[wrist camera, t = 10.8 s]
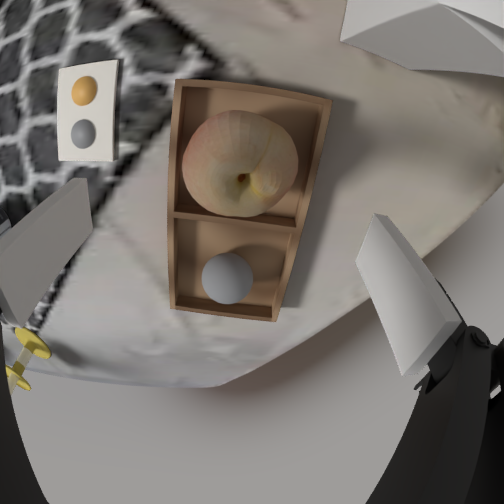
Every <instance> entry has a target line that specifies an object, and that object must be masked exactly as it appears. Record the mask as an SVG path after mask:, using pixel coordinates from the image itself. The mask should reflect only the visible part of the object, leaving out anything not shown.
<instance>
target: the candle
mask: <svg viewBox="0 0 504 504" xmlns="http://www.w3.org/2000/svg"><path fill="white" fill-rule="evenodd" d="M15 333H16V336H17V337H18V339H19V341H20V342H21V343H22V344H23V345H24V347H23V349H22V351H21V353H20V355H19V356H18V358H17V360H16V362H15V364H14V366H13V368H11V367H9V366H8V365H6V364H5V366H6V372H7V377H8V385H9V390H10V395H12V393H13V390H14V388H15V386H16V385H18V386H20V387H21V388H23V389H25V390H29V391H30V390H31V387H30V385H29V383H28V382H27V381H26V380H25V379H24V378H23V377H22V373H23V372H24V370H25V368H26V366H27V364H28V362H29V360H30V358H31V356H32V354H33V353H34V354H35V355H37V356H39V357H41V358H45V359H48V358H49V357H50V356H51V352H50V350H49V348H48V347H47V345H46V344H45V343H44V342H43V341H42V339H41V338H39V337H38V336H37V335H36V334H35V333H33V332H32V331H30V330H29V329H27V328H25V327H23V328H22V329H20V328H18V327H16V329H15Z"/></svg>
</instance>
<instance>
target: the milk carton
mask: <svg viewBox="0 0 504 504" xmlns="http://www.w3.org/2000/svg"><path fill="white" fill-rule="evenodd" d="M340 41H341V42H343V43H346V44H349V45H352V46H355V47H358V48H360V49H363V50H365V51H368V52H371V53H373V54H376V55H378V56H380V57H383V58H385V59H387V60H390V61H392V62H394V63H396V64H398V65H400V66H403V67H405V68H407V69H409V70H443V71H458V72H469V73H478V74H486V75H493V76H499V77H504V0H348V2H347V7H346V12H345V17H344V22H343V27H342V32H341V37H340Z"/></svg>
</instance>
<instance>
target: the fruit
mask: <svg viewBox="0 0 504 504" xmlns="http://www.w3.org/2000/svg"><path fill="white" fill-rule="evenodd" d="M182 171H183V178H184V181H185V184H186V187H187V189H188V191H189V192H190V194H191V196H192V197H193V198H194V199H195V200H196V201H197V202H198V203H199V204H200V205H201V206H202V207H204V208H205V209H207V210H208V211H211V212H213V213H216V214H219V215H224V216H239V217H251V216H256V215H259V214H261V213H263V212H266V211H267V210H269V209H270V208H272V207H274V206H275V205H276V204H277V203H278V202H279V201H280V200H281V199H282V198H283V196H284V195H285V194H286V193H287V192H288V191H289V189H290V188H291V186H292V185H293V183H294V180H295V178H296V175H297V172H298V155H297V151H296V147H295V145H294V143H293V140H292V138H291V136H290V135H289V134H288V133H287V132H286V131H285V129H284V128H283V127H281V126H280V125H278V124H276V123H274V122H273V121H271V120H269V119H267V118H265V117H262V116H260V115H258V114H255V113H252V112H248V111H243V110H229V111H226V112H222V113H219V114H217V115H215V116H213V117H211V118H209V119H207V120H206V121H205V122H204V123H203V124H202V125H200V126H199V128H198V129H197V130H196V132H195V133H194V134H193V136H192V137H191V139H190V142H189V144H188V146H187V148H186V150H185V153H184V155H183V163H182Z"/></svg>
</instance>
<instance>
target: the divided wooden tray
mask: <svg viewBox="0 0 504 504" xmlns="http://www.w3.org/2000/svg"><path fill="white" fill-rule="evenodd" d="M332 102H333V100H329V99H325V98H321V97H317V96H312V95H308V94H303V93H298V92H293V91H288V90H283V89H277V88H271V87H265V86H258V85H250V84H242V83H234V82H223V81H211V80H194V79H176V80H175V88H174V98H173V108H172V119H171V132H170V147H169V167H168V204H167V237H168V274H169V294H170V309H177V310H183V311H190V312H196V313H203V314H211V315H218V316H226V317H234V318H242V319H251V320H260V321H270V322H276V321H277V318H278V315H279V311H280V308H281V304H282V301H283V298H284V294H285V291H286V287H287V284H288V281H289V277H290V274H291V270H292V266H293V263H294V259H295V256H296V252H297V248H298V245H299V241H300V237H301V233H302V230H303V226H304V222H305V218H306V214H307V210H308V206H309V203H310V199H311V195H312V190H313V186H314V182H315V178H316V174H317V170H318V166H319V161H320V157H321V153H322V148H323V144H324V139H325V135H326V130H327V126H328V121H329V116H330V112H331V107H332ZM229 110H243V111H248V112H252V113H255V114H258V115H260V116H262V117H265V118H267V119H269V120H271V121H273V122H274V123H276V124H278V125H280V126H281V127H283V128H284V129H285V131H286V132H287V133H288V134H289V135H290V136H291V138H292V140H293V143H294V145H295V147H296V151H297V155H298V172H297V175H296V178H295V180H294V183H293V185H292V186H291V188H290V189H289V191H288V192H287V193H286V194H285V195H284V196H283V198H282V199H281V200H280V201H279V202H278V203H277V204H276V205H275V206H274V207H272V208H270V209H269V210H267V211H266V212H263V213H261V214H259V215H256V216H251V217H239V216H224V215H219V214H216V213H213V212H211V211H208V210H207V209H205V208H204V207H202V206H201V205H200V204H199V203H198V202H197V201H196V200H195V199H194V198H193V197H192V196H191V194H190V192H189V191H188V189H187V187H186V184H185V181H184V178H183V171H182V163H183V155H184V153H185V150H186V148H187V146H188V144H189V142H190V139H191V137H192V136H193V134H194V133H195V132H196V130H197V129H198V128H199V126H200V125H202V124H203V123H204V122H205V121H206V120H207V119H209V118H211V117H213V116H215V115H217V114H219V113H222V112H226V111H229ZM221 253H234V254H237V255H239V256H241V257H242V258H244V259H245V260H246V261H247V263H248V264H249V266H250V267H251V270H252V273H253V284H252V287H251V290H250V292H249V293H248V295H247V296H246V297H245V298H244V299H242V300H241V301H239V302H237V303H233V304H222V303H218V302H216V301H214V300H213V299H211V298H210V297H209V296H208V295H207V293H206V292H205V290H204V288H203V285H202V272H203V269H204V267H205V265H206V263H207V262H208V261H209V260H210V259H211V258H212V257H214V256H216V255H218V254H221Z"/></svg>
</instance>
